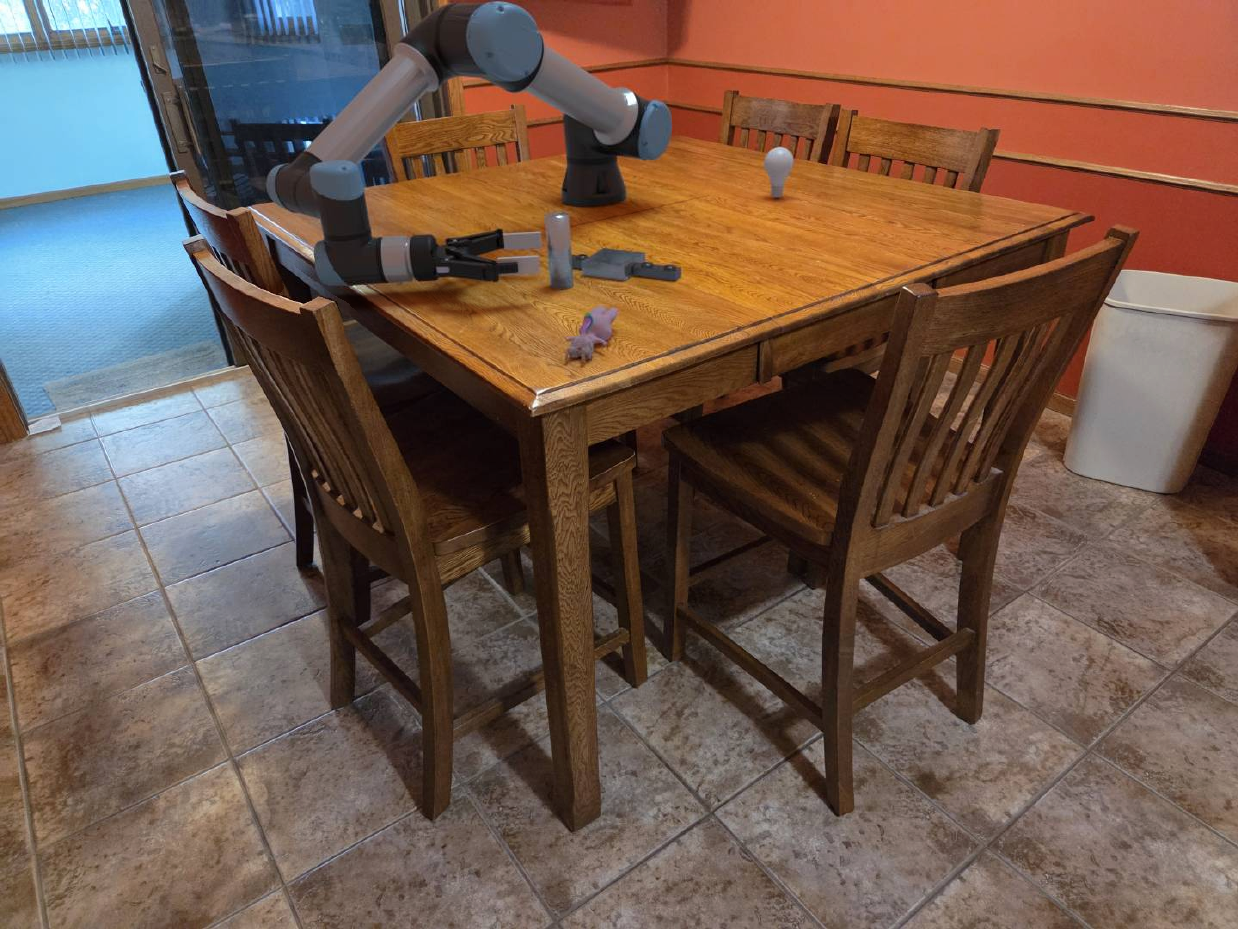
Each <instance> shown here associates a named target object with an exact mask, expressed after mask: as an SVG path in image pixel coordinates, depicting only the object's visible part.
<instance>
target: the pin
mask: <svg viewBox="0 0 1238 929" xmlns="http://www.w3.org/2000/svg"><path fill="white" fill-rule="evenodd" d="M543 218H544V224H545V225H544V226H545V238H546V239H545V240H546V249H547V259H548V260H547V262H548V274H549V284H550V288H551V289H554V290H559V289H561V290H568V289H570V288H573V287H574V284H575V283H574V270H573V269H574V268H572V255H573V254H572V244H571V243H572V242H571V229H570V228H571V227H570V214H569V212H566V211H552V212H548V213H545V214H544V217H543Z"/></svg>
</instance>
